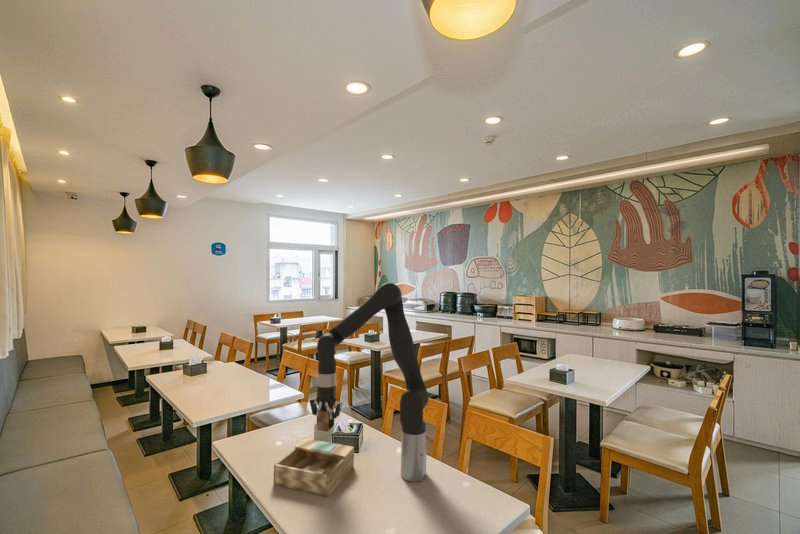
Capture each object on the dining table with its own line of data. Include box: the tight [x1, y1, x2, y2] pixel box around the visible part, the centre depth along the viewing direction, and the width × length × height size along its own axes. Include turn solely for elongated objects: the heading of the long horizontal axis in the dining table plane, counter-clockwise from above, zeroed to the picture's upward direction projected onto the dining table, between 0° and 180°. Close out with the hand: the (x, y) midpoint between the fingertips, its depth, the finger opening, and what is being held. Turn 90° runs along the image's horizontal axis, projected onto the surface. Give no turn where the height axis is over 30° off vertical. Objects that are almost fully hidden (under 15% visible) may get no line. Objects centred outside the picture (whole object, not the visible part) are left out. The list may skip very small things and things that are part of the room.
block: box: [317, 409, 333, 432], centre depth 143 cm, size 4×4×8 cm
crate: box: [273, 438, 355, 498], centre depth 137 cm, size 22×21×8 cm
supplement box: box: [313, 420, 335, 443], centre depth 156 cm, size 7×7×13 cm
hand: (325, 426), depth 143 cm, fingers closed on block, 4 cm apart
